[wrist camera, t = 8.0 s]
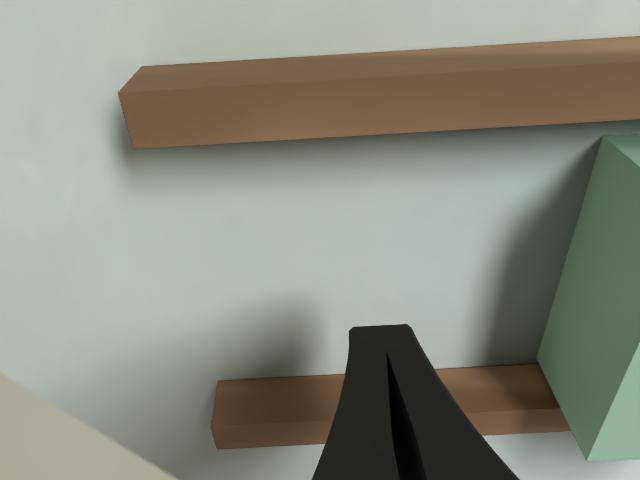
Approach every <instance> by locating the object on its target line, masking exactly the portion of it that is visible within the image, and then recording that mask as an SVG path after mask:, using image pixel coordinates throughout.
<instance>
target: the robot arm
mask: <svg viewBox="0 0 640 480" xmlns="http://www.w3.org/2000/svg"><path fill="white" fill-rule="evenodd" d="M312 480H519V479H518V477H517V476H516V475H515V474H514V473H513V472H512V471H511V470H510V469H509V467H508V466H507V465H506V464H505V463H504V462H503V461H502V460H501V458H500V457H499V456H498V455H497V454H496V453H495V451H494V450H493V449H492V448H491V447H490V445H489V444H488V443H487V442H486V441H485V439H484V438H483V437H482V436H481V434H480V433H479V432H478V431H477V429H476V428H475V427H474V425H473V424H472V423H471V421H470V420H469V419H468V418H467V416H466V415H465V414H464V412H463V411H462V409H461V408H460V407H459V405H458V404H457V402H456V401H455V400H454V398H453V397H452V395H451V394H450V392H449V391H448V389H447V388H446V386H445V385H444V384H443V382H442V381H441V379H440V377H439V376H438V374H437V373H436V371H435V370H434V368H433V366H432V365H431V363H430V361H429V360H428V358H427V356H426V355H425V353H424V351H423V349H422V348H421V346H420V344H419V342H418V340H417V338H416V336H415V334H414V332H413V330H412V328H411V327H410V326H409V325H407V324H400V325H381V326H362V327H353V328H352V329H351V330H349V353H348V361H347V367H346V372H345V377H344V382H343V386H342V390H341V394H340V398H339V402H338V406H337V410H336V413H335V416H334V419H333V422H332V425H331V429H330V432H329V435H328V438H327V441H326V444H325V447H324V449H323V452H322V455H321V457H320V460H319V463H318V465H317V468H316V470H315V473H314V475H313V478H312Z"/></svg>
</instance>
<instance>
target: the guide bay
mask: <svg viewBox="0 0 640 480" xmlns="http://www.w3.org/2000/svg"><path fill="white" fill-rule="evenodd" d="M118 95H119V99H120V102H121V106H122V110H123V113H124V117H125V120H126V124H127V128H128V131H129V135H130V138H131V142H132V146H133V149H141V148H158V147H175V146H192V145H209V144H226V143H243V142H260V141H277V140H294V139H311V138H328V137H345V136H362V135H379V134H396V133H413V132H430V131H447V130H464V129H481V128H498V127H515V126H532V125H549V124H565V123H582V122H599V121H616V120H633V119H640V36H636V37H619V38H603V39H586V40H570V41H554V42H537V43H521V44H504V45H488V46H471V47H455V48H438V49H422V50H405V51H389V52H373V53H356V54H340V55H323V56H307V57H290V58H274V59H257V60H241V61H225V62H208V63H192V64H175V65H159V66H142V67H141V68H140V69H139V70H138V71H137V72H136V73H135V74H134V76H133V77H132V78H131V79H130V80H129V81H128V82H127V83H126V84H125V85H124V87H123V88H122V89H121V90H120V91H119V92H118ZM435 371H436V373H437V374H438V376H439V377H440V379H441V381H442V382H443V384H444V385H445V386H446V388H447V389H448V391H449V392H450V394H451V395H452V397H453V398H454V400H455V401H456V402H457V404H458V405H459V407H460V408H461V409H462V411H463V412H464V414H465V415H466V416H467V418H468V419H469V420H470V421H471V423H472V424H473V425H474V427H475V428H476V429H477V431H478V432H479V433H480V434H481V436H483V435H503V434H522V433H541V432H560V431H571V428H570V426H569V424H568V422H567V420H566V418H565V416H564V414H563V412H562V410H561V408H560V406H559V404H558V402H557V400H556V398H555V396H554V393H553V391H552V389H551V387H550V385H549V383H548V381H547V379H546V377H545V375H544V373H543V371H542V369H541V367H540V365H539V364H528V365H509V366H491V367H472V368H453V369H435ZM344 377H345V374H342V375H323V376H304V377H286V378H267V379H248V380H230V381H219V382H218V387H217V393H216V399H215V404H214V410H213V416H212V421H211V430H212V434H213V437H214V441H215V444H216V448H217V449H234V448H253V447H272V446H292V445H311V444H326V441H327V438H328V435H329V432H330V429H331V425H332V422H333V419H334V416H335V413H336V410H337V406H338V402H339V398H340V394H341V390H342V386H343V382H344Z"/></svg>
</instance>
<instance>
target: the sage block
mask: <svg viewBox="0 0 640 480" xmlns="http://www.w3.org/2000/svg"><path fill="white" fill-rule="evenodd" d="M537 361H538V363H539V365H540V367H541V369H542V371H543V373H544V375H545V377H546V379H547V381H548V383H549V385H550V387H551V389H552V391H553V393H554V396H555V398H556V400H557V402H558V404H559V406H560V408H561V410H562V412H563V414H564V416H565V418H566V420H567V422H568V424H569V426H570V428H571V431H572V433H573V435H574V437H575V439H576V441H577V443H578V445H579V447H580V449H581V451H582V453H583V455H584V457H585V459H586V461H608V460H636V459H640V134H635V135H607V136H603V137H602V140H601V143H600V147H599V150H598V153H597V157H596V160H595V163H594V167H593V170H592V174H591V177H590V180H589V184H588V187H587V190H586V194H585V197H584V200H583V204H582V207H581V210H580V214H579V217H578V221H577V224H576V227H575V231H574V234H573V237H572V241H571V244H570V247H569V251H568V254H567V257H566V261H565V264H564V268H563V271H562V274H561V278H560V281H559V284H558V288H557V291H556V294H555V298H554V301H553V304H552V308H551V311H550V315H549V318H548V321H547V325H546V328H545V331H544V335H543V338H542V341H541V345H540V348H539V351H538V355H537Z"/></svg>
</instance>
